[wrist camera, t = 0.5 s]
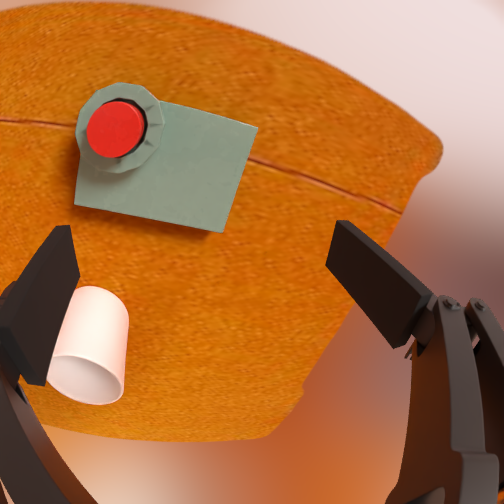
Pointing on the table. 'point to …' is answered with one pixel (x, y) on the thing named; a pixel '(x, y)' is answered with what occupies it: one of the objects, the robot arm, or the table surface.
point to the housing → (165, 162)
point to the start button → (115, 129)
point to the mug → (91, 348)
